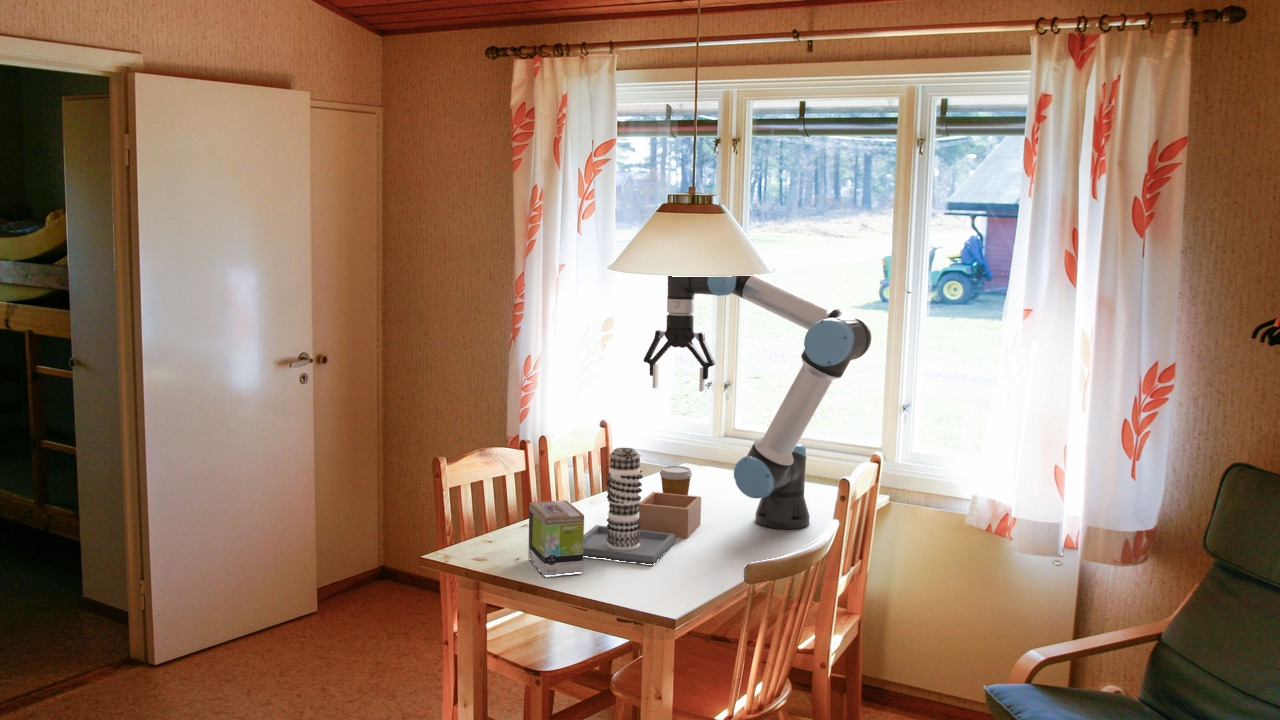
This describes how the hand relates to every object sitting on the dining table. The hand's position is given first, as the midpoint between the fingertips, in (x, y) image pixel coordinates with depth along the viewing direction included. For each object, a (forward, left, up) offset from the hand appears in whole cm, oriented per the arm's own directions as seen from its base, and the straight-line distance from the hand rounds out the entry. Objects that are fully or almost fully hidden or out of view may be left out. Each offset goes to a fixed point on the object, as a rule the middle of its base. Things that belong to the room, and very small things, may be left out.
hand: (678, 389), depth 293 cm
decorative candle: (+4, +35, -36) cm, 50 cm away
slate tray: (+4, +35, -37) cm, 51 cm away
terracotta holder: (-2, +13, -37) cm, 39 cm away
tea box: (+15, +54, -37) cm, 67 cm away
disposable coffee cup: (+2, -7, -37) cm, 38 cm away
